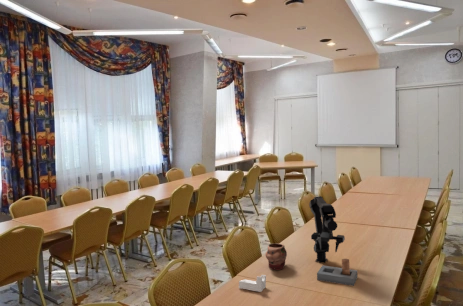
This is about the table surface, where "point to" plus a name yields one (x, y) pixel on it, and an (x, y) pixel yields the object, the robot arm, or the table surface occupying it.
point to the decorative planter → (276, 256)
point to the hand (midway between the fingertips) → (328, 251)
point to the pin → (345, 267)
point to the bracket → (254, 284)
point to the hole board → (336, 275)
